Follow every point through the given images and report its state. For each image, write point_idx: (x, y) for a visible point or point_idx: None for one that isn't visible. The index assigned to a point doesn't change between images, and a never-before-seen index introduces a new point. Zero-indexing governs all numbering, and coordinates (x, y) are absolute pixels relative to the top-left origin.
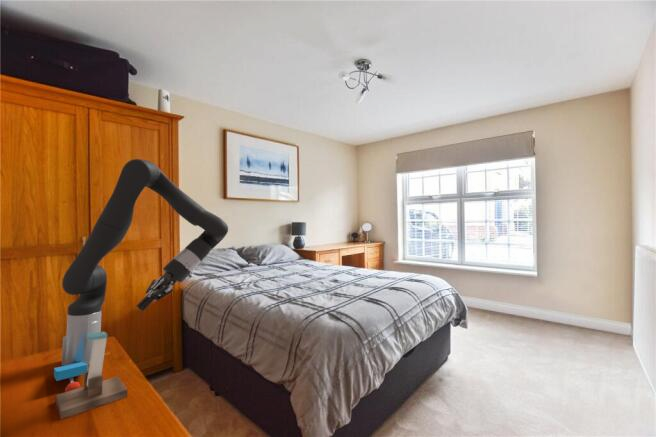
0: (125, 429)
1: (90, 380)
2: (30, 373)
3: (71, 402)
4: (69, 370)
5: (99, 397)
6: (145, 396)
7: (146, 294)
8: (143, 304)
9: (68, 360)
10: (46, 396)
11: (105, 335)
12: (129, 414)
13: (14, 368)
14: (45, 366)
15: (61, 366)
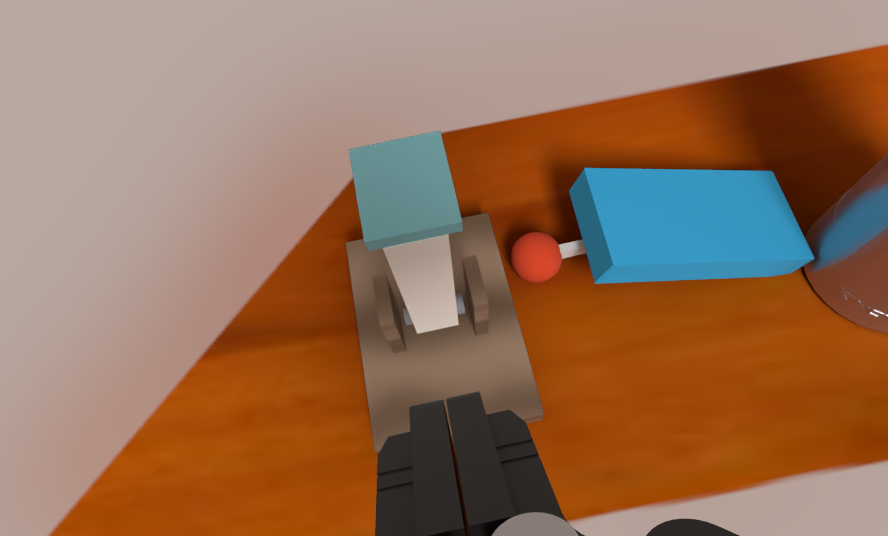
0: (140, 441)
1: (374, 284)
2: (800, 118)
3: None
4: (591, 208)
5: (371, 346)
6: (333, 532)
7: (527, 528)
8: (381, 474)
9: (833, 204)
10: (554, 195)
11: (364, 231)
12: (229, 458)
13: (874, 66)
14: (862, 148)
15: (779, 191)
